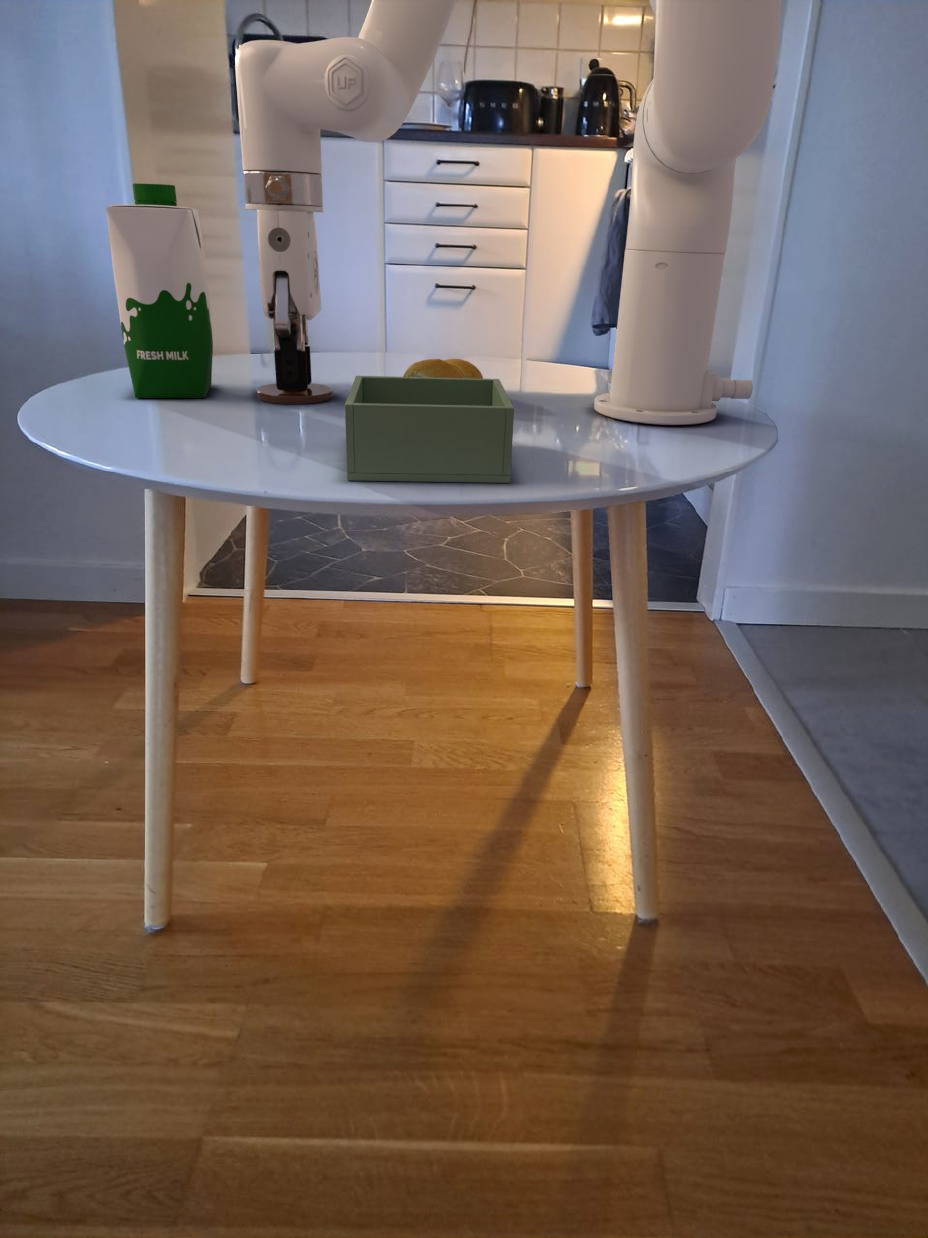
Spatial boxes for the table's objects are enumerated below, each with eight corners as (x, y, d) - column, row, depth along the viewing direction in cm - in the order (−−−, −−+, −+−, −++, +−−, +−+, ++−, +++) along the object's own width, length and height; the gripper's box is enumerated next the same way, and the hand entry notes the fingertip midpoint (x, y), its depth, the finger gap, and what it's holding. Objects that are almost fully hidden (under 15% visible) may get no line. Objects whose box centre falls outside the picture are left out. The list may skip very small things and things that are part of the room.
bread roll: (496, 395, 94) (498, 358, 93) (440, 404, 88) (441, 365, 87) (444, 384, 99) (445, 349, 98) (388, 392, 94) (388, 355, 92)
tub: (496, 443, 74) (499, 378, 71) (510, 483, 63) (514, 407, 60) (357, 441, 73) (355, 375, 71) (346, 480, 62) (344, 404, 60)
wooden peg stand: (335, 390, 94) (333, 329, 91) (328, 404, 87) (326, 339, 84) (263, 389, 93) (259, 327, 91) (250, 403, 86) (245, 337, 83)
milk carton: (220, 384, 95) (202, 186, 86) (212, 400, 87) (191, 183, 78) (139, 384, 93) (112, 183, 85) (123, 400, 85) (92, 179, 77)
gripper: (313, 194, 75) (322, 402, 83) (330, 198, 89) (336, 375, 97) (228, 190, 74) (245, 401, 82) (259, 195, 89) (271, 373, 97)
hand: (294, 385), depth 90 cm, fingers closed on wooden peg stand, 2 cm apart
